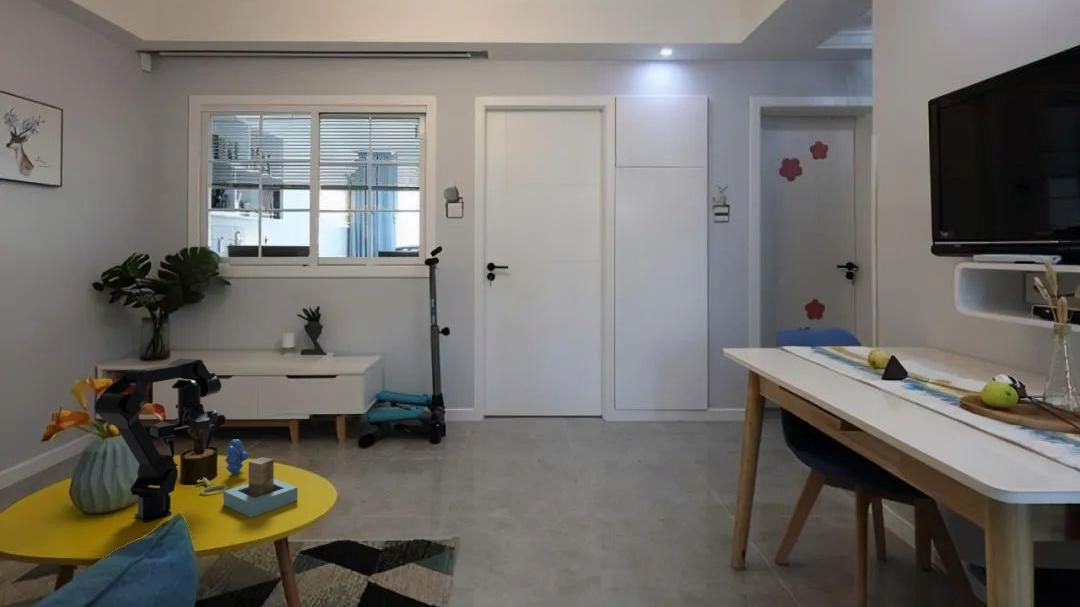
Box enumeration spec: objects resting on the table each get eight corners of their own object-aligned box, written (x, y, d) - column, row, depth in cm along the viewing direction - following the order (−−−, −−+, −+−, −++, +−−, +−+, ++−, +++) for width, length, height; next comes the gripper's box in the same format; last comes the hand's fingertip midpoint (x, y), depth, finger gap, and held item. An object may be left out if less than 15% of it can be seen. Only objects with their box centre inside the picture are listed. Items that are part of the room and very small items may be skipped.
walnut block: (260, 505, 158) (260, 464, 157) (248, 502, 159) (248, 461, 159) (273, 499, 162) (273, 459, 162) (261, 496, 164) (261, 457, 163)
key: (204, 483, 175) (204, 476, 175) (231, 490, 170) (231, 484, 170) (182, 490, 168) (182, 484, 168) (208, 499, 163) (208, 492, 163)
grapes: (243, 480, 177) (243, 443, 177) (220, 481, 176) (220, 444, 175) (254, 467, 189) (254, 433, 188) (233, 468, 187) (233, 433, 187)
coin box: (251, 517, 151) (251, 503, 151) (223, 504, 159) (223, 491, 158) (297, 500, 163) (297, 487, 163) (269, 489, 171) (269, 476, 170)
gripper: (167, 411, 150) (167, 467, 151) (236, 399, 166) (235, 450, 167) (148, 405, 156) (148, 459, 157) (216, 394, 172) (216, 443, 173)
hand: (189, 453), depth 163 cm, fingers open, 9 cm apart
